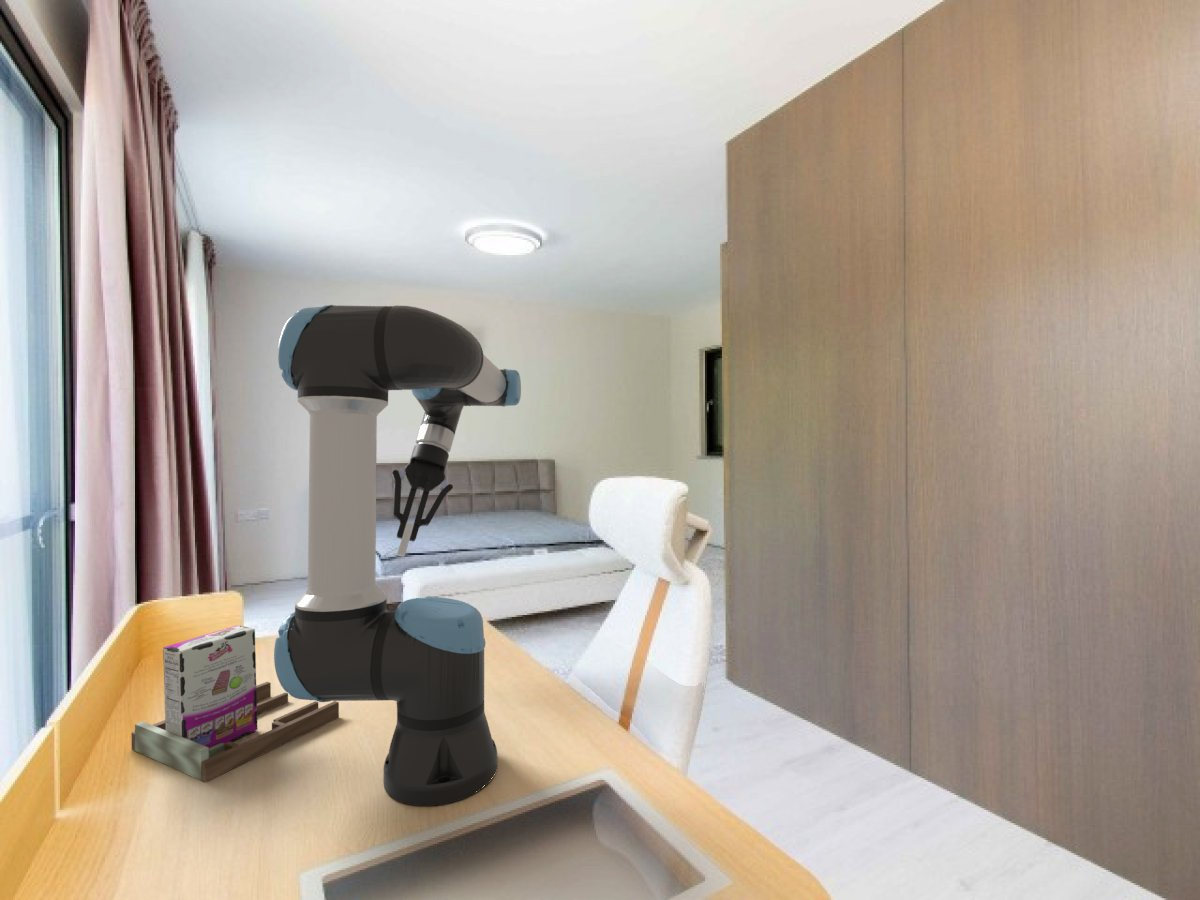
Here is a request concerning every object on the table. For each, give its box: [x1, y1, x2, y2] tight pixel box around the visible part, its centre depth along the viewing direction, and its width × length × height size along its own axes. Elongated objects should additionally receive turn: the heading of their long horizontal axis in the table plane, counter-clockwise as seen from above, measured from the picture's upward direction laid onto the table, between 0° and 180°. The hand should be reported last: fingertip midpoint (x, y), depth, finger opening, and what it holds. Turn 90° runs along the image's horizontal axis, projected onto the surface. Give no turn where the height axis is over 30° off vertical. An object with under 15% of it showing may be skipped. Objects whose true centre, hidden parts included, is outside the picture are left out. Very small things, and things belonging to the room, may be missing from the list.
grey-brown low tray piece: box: [130, 681, 340, 783], centre depth 92 cm, size 19×21×4 cm
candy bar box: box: [162, 625, 258, 748], centre depth 88 cm, size 11×5×16 cm, turn 155°
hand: (400, 555), depth 117 cm, fingers closed
